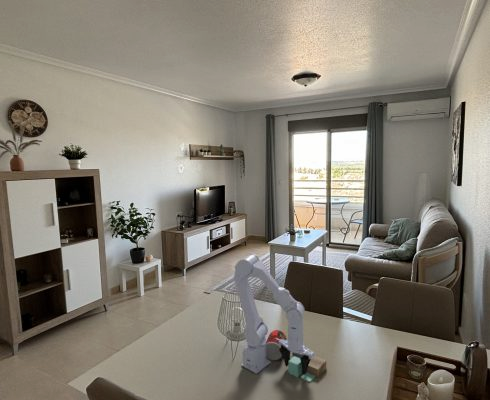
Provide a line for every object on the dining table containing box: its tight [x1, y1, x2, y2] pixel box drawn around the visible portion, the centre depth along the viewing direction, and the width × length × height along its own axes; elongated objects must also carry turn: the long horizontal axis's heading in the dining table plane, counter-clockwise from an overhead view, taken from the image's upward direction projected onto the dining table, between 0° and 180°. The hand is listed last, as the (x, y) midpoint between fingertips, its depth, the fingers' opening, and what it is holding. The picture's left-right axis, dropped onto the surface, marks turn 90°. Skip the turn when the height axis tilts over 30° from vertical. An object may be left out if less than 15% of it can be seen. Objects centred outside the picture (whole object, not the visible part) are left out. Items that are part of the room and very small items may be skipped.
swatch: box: [300, 372, 316, 383], centre depth 119 cm, size 4×4×1 cm
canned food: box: [266, 329, 288, 361], centre depth 135 cm, size 8×8×11 cm
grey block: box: [291, 352, 303, 358], centre depth 128 cm, size 4×4×5 cm
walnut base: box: [307, 355, 327, 378], centre depth 123 cm, size 7×7×4 cm
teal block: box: [288, 356, 303, 378], centre depth 122 cm, size 4×4×5 cm
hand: (295, 369), depth 122 cm, fingers open, 7 cm apart
